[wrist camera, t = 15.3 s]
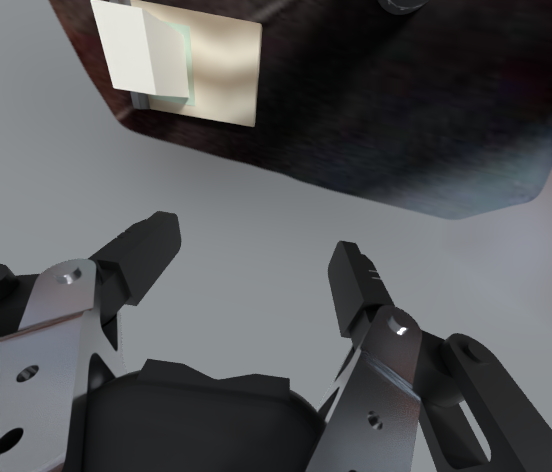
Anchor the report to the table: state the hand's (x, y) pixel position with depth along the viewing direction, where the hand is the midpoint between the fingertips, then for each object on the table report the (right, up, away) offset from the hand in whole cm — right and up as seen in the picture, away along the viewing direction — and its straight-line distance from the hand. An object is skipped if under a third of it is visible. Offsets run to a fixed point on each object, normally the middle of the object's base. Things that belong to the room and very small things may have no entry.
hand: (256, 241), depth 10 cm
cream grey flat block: (-11, +26, +20) cm, 34 cm away
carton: (-15, +25, +19) cm, 35 cm away
